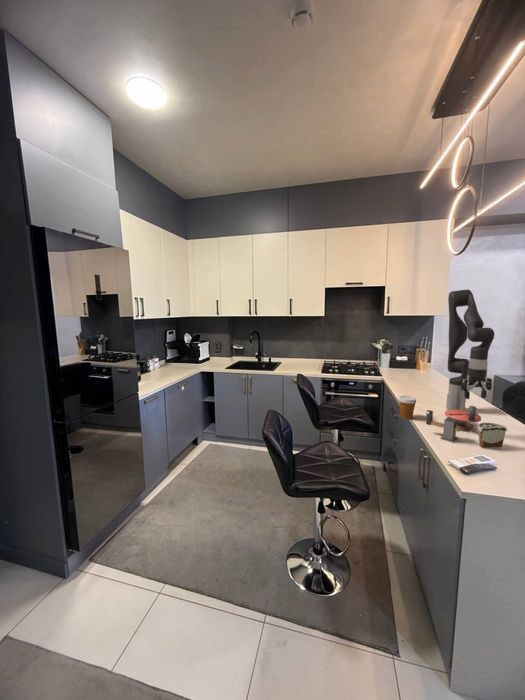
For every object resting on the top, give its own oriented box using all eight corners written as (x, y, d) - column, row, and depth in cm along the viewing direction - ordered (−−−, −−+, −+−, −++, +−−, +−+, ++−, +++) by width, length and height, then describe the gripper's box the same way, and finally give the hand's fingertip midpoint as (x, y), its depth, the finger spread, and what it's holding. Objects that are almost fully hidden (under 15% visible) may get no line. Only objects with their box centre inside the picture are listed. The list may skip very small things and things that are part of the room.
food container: (494, 441, 140) (496, 421, 138) (505, 447, 134) (507, 426, 132) (469, 442, 139) (471, 422, 138) (479, 448, 133) (481, 427, 132)
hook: (425, 423, 149) (425, 411, 148) (426, 422, 151) (427, 409, 150) (458, 432, 138) (459, 418, 137) (460, 430, 140) (461, 417, 139)
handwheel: (438, 418, 164) (439, 397, 163) (467, 418, 164) (468, 397, 162) (456, 430, 148) (458, 407, 146) (488, 430, 148) (490, 407, 146)
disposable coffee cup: (394, 415, 174) (394, 396, 173) (406, 413, 178) (407, 394, 176) (406, 421, 166) (407, 401, 164) (419, 418, 169) (420, 399, 167)
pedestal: (464, 422, 162) (464, 420, 162) (479, 430, 151) (479, 428, 151) (445, 423, 162) (445, 420, 162) (459, 431, 151) (459, 428, 151)
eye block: (440, 438, 143) (441, 419, 142) (444, 434, 147) (445, 416, 146) (454, 442, 139) (455, 423, 137) (458, 438, 143) (459, 419, 142)
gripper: (469, 369, 140) (467, 401, 143) (497, 368, 141) (494, 400, 143) (458, 366, 148) (456, 396, 150) (485, 365, 148) (482, 395, 151)
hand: (475, 398), depth 147 cm, fingers open, 8 cm apart
